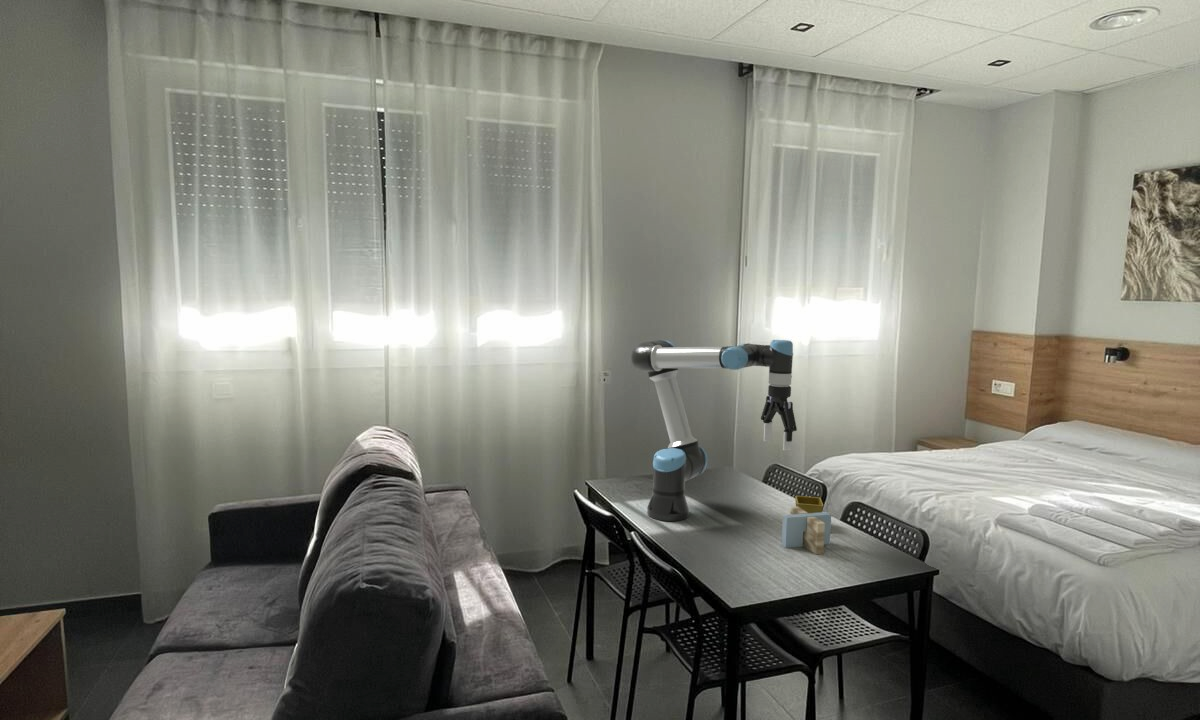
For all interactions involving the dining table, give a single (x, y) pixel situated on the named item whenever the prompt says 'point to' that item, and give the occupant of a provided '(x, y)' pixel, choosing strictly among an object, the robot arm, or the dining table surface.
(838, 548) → the dining table surface
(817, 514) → the pale blue upright slab
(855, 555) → the dining table surface
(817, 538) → the tan wooden block
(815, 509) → the flower pot
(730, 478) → the dining table surface
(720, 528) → the dining table surface
